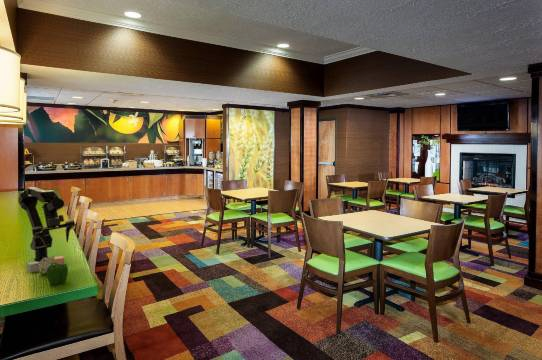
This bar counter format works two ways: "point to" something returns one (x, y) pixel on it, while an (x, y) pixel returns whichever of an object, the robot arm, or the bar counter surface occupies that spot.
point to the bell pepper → (57, 273)
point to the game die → (45, 264)
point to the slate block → (32, 267)
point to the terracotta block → (59, 259)
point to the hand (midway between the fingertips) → (57, 244)
